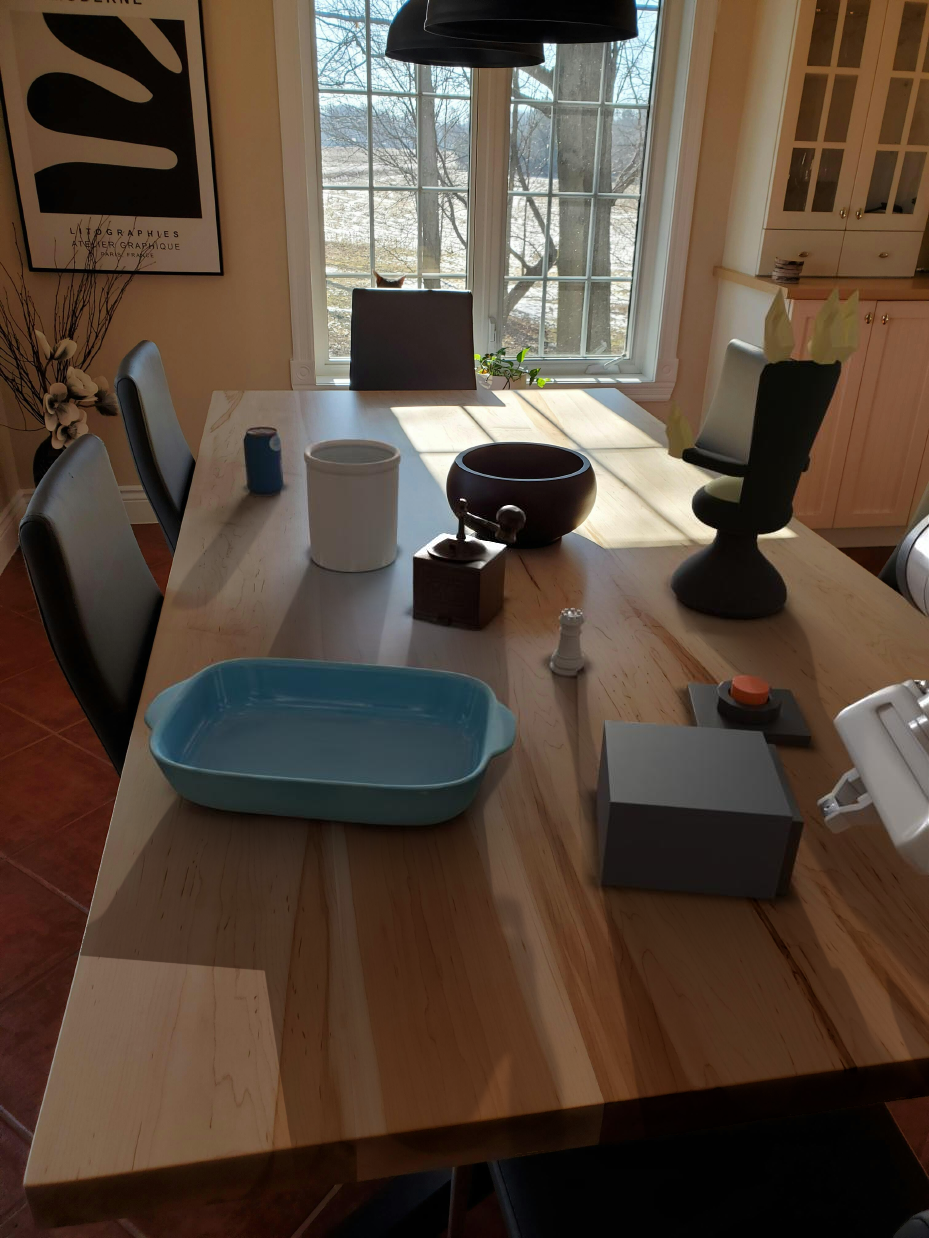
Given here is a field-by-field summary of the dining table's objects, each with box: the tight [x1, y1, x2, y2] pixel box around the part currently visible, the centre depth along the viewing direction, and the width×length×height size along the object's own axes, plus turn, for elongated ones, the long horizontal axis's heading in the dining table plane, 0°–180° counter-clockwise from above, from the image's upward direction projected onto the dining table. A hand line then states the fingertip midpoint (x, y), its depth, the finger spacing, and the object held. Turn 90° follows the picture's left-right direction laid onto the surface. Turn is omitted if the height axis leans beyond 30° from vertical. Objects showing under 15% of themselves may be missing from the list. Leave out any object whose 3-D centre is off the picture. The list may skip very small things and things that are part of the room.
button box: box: [685, 679, 813, 748], centre depth 102 cm, size 12×10×4 cm
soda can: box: [242, 426, 285, 497], centre depth 171 cm, size 7×7×12 cm
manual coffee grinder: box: [412, 498, 527, 631], centre depth 123 cm, size 16×11×18 cm
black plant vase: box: [664, 286, 860, 619], centre depth 123 cm, size 19×22×45 cm
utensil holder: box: [303, 438, 402, 573], centre depth 141 cm, size 15×15×18 cm
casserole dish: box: [143, 657, 517, 826], centre depth 91 cm, size 37×22×7 cm, turn 85°
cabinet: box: [595, 719, 793, 901], centre depth 81 cm, size 15×13×10 cm
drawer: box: [767, 744, 805, 896], centre depth 80 cm, size 15×11×8 cm
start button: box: [730, 674, 771, 705], centre depth 101 cm, size 4×4×2 cm
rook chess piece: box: [549, 607, 586, 678], centre depth 111 cm, size 4×4×8 cm
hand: (825, 818), depth 80 cm, fingers closed
